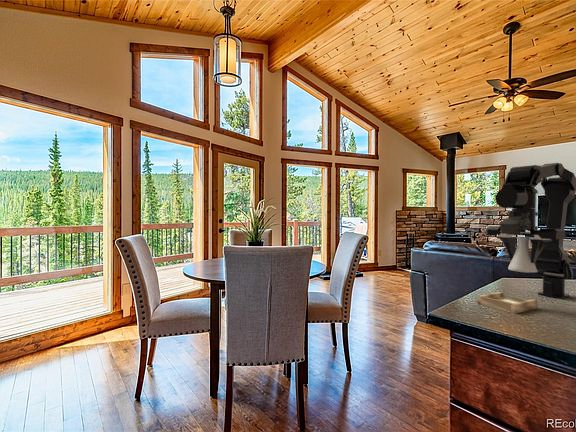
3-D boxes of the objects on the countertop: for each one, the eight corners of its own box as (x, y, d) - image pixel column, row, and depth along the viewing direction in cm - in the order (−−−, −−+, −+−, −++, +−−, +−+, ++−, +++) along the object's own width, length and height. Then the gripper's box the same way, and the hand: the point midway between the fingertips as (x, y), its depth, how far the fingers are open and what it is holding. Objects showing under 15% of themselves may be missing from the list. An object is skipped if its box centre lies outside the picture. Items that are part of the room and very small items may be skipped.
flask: (543, 273, 94) (543, 238, 94) (514, 272, 95) (515, 237, 95) (529, 269, 101) (530, 236, 101) (503, 268, 102) (503, 236, 102)
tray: (499, 299, 105) (499, 291, 105) (537, 308, 96) (537, 299, 95) (477, 303, 100) (477, 295, 100) (514, 313, 91) (514, 304, 90)
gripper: (475, 208, 102) (474, 259, 103) (545, 208, 86) (544, 268, 86) (497, 209, 108) (496, 257, 108) (566, 208, 91) (565, 265, 91)
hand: (522, 261), depth 98 cm, fingers closed on flask, 5 cm apart
